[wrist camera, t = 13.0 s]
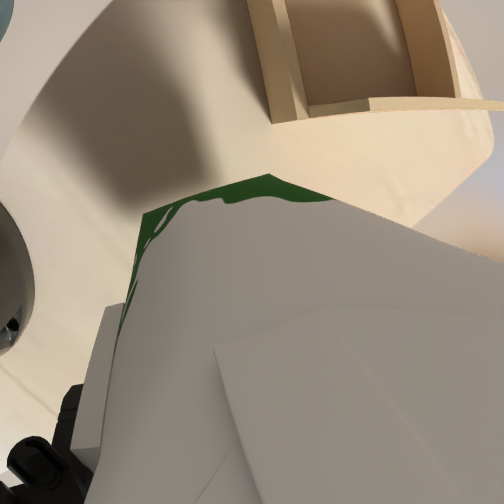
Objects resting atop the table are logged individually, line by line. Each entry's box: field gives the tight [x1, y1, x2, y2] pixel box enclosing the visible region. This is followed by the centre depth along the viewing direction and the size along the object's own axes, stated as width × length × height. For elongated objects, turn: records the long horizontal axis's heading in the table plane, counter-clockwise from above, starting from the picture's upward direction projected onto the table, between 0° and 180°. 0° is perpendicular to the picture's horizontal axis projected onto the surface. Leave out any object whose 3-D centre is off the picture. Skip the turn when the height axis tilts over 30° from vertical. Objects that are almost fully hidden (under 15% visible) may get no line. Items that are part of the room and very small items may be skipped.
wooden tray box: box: [246, 0, 504, 124], centre depth 16 cm, size 16×16×12 cm
